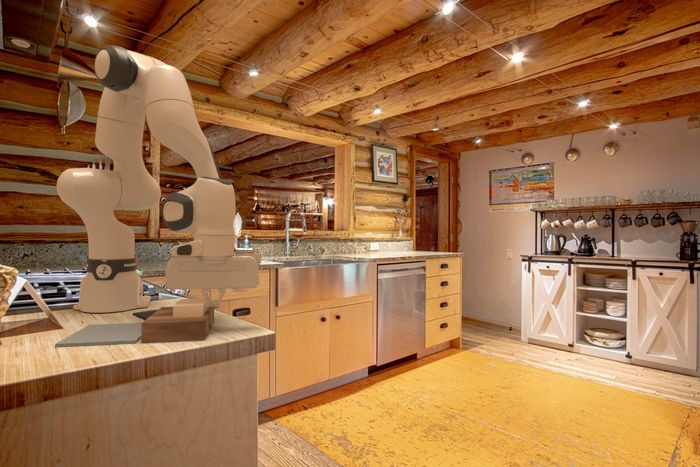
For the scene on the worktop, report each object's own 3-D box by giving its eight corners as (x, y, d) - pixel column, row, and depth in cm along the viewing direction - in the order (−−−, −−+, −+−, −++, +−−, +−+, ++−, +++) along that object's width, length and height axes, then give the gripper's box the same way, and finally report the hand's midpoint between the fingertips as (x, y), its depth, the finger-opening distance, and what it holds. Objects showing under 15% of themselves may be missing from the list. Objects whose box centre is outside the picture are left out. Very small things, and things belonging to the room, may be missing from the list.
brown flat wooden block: (161, 323, 91) (161, 307, 91) (213, 321, 94) (214, 305, 94) (141, 343, 76) (141, 323, 76) (204, 340, 79) (205, 320, 78)
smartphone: (159, 309, 106) (184, 316, 96) (159, 312, 106) (183, 320, 96) (130, 312, 101) (153, 321, 91) (130, 316, 101) (153, 325, 91)
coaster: (180, 309, 89) (180, 299, 89) (207, 309, 90) (207, 298, 90) (173, 317, 81) (173, 306, 81) (202, 316, 82) (203, 305, 82)
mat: (89, 327, 87) (89, 324, 87) (155, 324, 90) (155, 322, 90) (55, 347, 72) (55, 344, 72) (135, 343, 76) (135, 340, 76)
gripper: (261, 247, 92) (260, 304, 92) (170, 246, 87) (169, 306, 87) (261, 248, 86) (260, 309, 86) (163, 248, 81) (162, 312, 81)
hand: (213, 308), depth 87 cm, fingers closed
